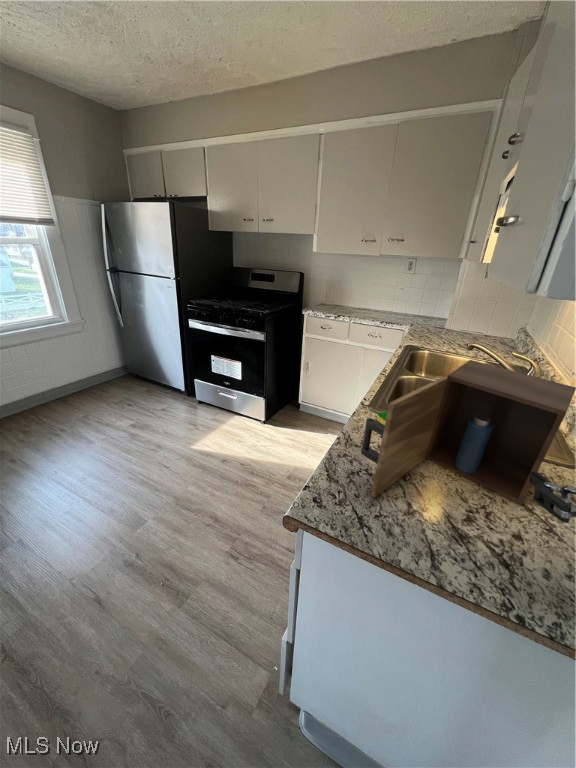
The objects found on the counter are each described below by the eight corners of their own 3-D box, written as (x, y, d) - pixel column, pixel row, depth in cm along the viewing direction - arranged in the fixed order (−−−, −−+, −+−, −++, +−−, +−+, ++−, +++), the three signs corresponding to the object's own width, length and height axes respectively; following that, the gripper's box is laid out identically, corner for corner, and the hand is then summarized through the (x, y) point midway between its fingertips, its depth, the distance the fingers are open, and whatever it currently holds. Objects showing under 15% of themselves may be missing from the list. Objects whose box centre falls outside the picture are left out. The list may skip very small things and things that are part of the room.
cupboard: (521, 505, 69) (566, 411, 59) (424, 457, 83) (447, 375, 73) (535, 472, 80) (576, 387, 69) (447, 434, 94) (470, 359, 83)
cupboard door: (350, 480, 74) (365, 391, 64) (402, 446, 87) (420, 368, 77) (374, 497, 69) (394, 404, 59) (424, 459, 82) (448, 377, 72)
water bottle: (479, 467, 79) (498, 418, 73) (472, 476, 76) (492, 426, 69) (458, 457, 82) (474, 409, 76) (450, 466, 79) (467, 417, 73)
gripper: (737, 517, 36) (607, 453, 52) (603, 519, 37) (516, 456, 53) (721, 571, 38) (600, 493, 53) (593, 572, 39) (512, 495, 55)
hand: (558, 475), depth 53 cm, fingers open, 8 cm apart
